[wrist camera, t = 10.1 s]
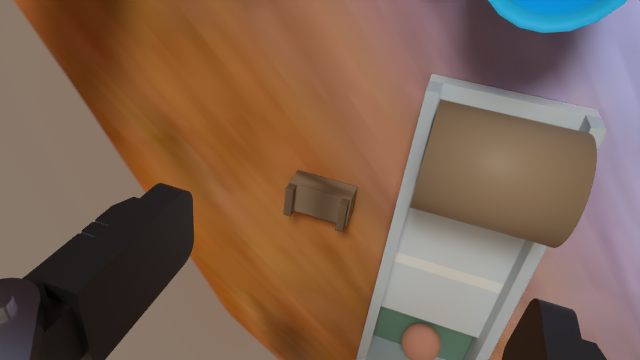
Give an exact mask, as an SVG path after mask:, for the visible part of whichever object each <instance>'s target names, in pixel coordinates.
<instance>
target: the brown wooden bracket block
mask: <svg viewBox="0 0 640 360" xmlns="http://www.w3.org/2000/svg"><path fill="white" fill-rule="evenodd" d="M357 188H358V187H357V186H353V185H350V184H346V183H342V182H339V181H335V180H332V179H328V178H324V177H321V176H317V175H314V174H310V173H306V172H303V171H299V170H298V171H297V172H296V174H295V175H294V176H293V178H292V179H291V180H290V182H289V185H288V186H287V187H286V192H285V203H284V215H287V216H291V215H292V213H293V212H294V211H297V212H300V213H304V214H307V215H310V216H314V217H317V218H320V219H324V220H327V221H331V222H334V223H336V227H335V230H337V231H340V232H343V230H344V227H345V226H347V223H348V221H349V219H350V217H351V215H352V212H353V208H354V203H355V198H356V193H357Z"/></svg>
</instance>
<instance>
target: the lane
mask: <svg viewBox="0 0 640 360" xmlns="http://www.w3.org/2000/svg"><path fill="white" fill-rule="evenodd" d="M606 133H607V129H606V127H605V125H604V123H603V121H602V119H601V117H600V115H599V113H598V111H597V110H596V109H591V108H587V107H582V106H578V105H573V104H568V103H564V102H559V101H555V100H550V99H545V98H541V97H536V96H532V95H527V94H523V93H518V92H513V91H509V90H504V89H500V88H495V87H491V86H486V85H481V84H477V83H472V82H468V81H463V80H459V79H454V78H449V77H445V76H440V75H436V74H432V75H431V78H430V81H429V83H428V86H427V89H426V92H425V96H424V100H423V104H422V108H421V112H420V115H419V119H418V123H417V127H416V131H415V135H414V139H413V142H412V146H411V150H410V154H409V158H408V162H407V165H406V169H405V173H404V177H403V181H402V185H401V189H400V192H399V196H398V200H397V204H396V208H395V212H394V216H393V219H392V223H391V227H390V231H389V235H388V239H387V242H386V246H385V250H384V254H383V258H382V262H381V266H380V269H379V273H378V277H377V281H376V285H375V289H374V292H373V296H372V300H371V304H370V308H369V312H368V316H367V320H366V323H365V327H364V331H363V335H362V339H361V343H360V346H359V350H358V354H357V358H356V360H410V359H409V358H408V357H407V356H406V354H405V353H404V351H403V348H402V345H401V344H398V343H395V342H392V341H389V340H387V339H384V338H381V337H378V336H375V335H373V332H374V329H375V325H376V321H377V318H378V314H379V311H380V307H381V306H382V307H385V308H388V309H391V310H394V311H398V312H401V313H404V314H407V315H410V316H413V317H416V318H419V319H422V320H425V321H428V322H431V323H434V324H437V325H440V326H443V327H446V328H449V329H452V330H455V331H458V332H461V333H464V334H467V335H470V336H473V339H472V341H471V344H470V346H469V348H468V350H467V352H466V354H465V356H464V358H463V360H488V359H489V357H490V355H491V354H492V352H493V350H494V348H495V346H496V344H497V342H498V340H499V338H500V336H501V334H502V332H503V331H504V329H505V327H506V325H507V323H508V321H509V319H510V317H511V315H512V313H513V311H514V309H515V308H516V306H517V304H518V302H519V300H520V298H521V296H522V294H523V292H524V290H525V288H526V286H527V285H528V283H529V281H530V279H531V277H532V275H533V273H534V271H535V269H536V267H537V265H538V263H539V262H540V260H541V258H542V256H543V254H544V252H545V250H546V248H547V246H549V247H552V248H556V247H559V246H560V245H562V244H563V243H564V242H565V241H566V240H567V239H568V237H569V236H570V235H571V233H572V232H573V230H574V229H575V227H576V225H577V223H578V222H579V220H580V218H581V215H582V213H583V211H584V209H585V206H586V203H587V201H588V198H589V195H590V191H591V188H592V184H593V180H594V175H595V170H596V162H597V150H598V148H599V147H600V145H601V143H602V141H603V139H604V137H605V135H606ZM434 360H445V359H442V358H439V357H436V358H435V359H434Z"/></svg>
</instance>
